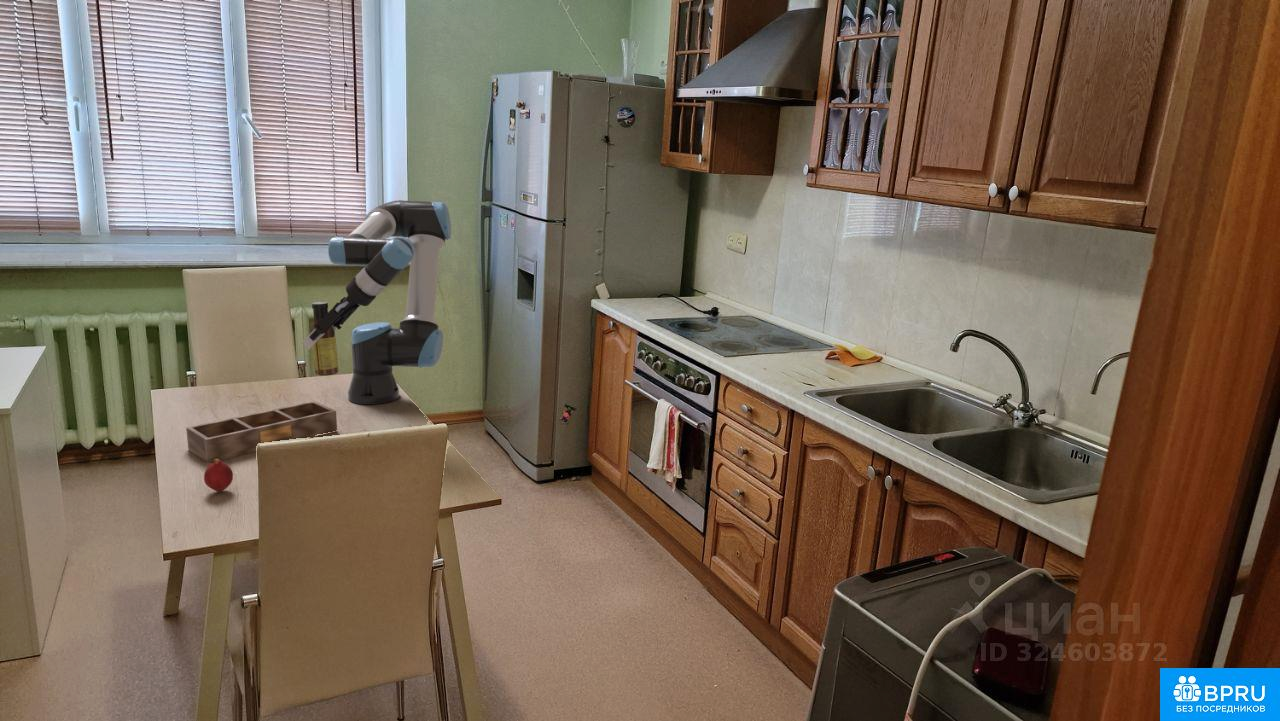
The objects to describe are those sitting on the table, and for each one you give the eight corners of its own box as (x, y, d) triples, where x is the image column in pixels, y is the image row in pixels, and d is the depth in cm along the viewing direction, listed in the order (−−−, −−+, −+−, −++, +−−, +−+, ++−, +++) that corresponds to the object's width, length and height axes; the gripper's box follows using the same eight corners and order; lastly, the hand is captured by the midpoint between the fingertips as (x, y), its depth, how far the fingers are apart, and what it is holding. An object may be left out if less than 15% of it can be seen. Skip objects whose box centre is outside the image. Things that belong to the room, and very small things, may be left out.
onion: (212, 486, 189) (209, 453, 187) (238, 486, 189) (235, 454, 187) (201, 497, 183) (197, 463, 181) (228, 497, 184) (225, 463, 181)
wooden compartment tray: (315, 421, 234) (314, 400, 233) (337, 432, 226) (336, 411, 225) (188, 449, 209) (186, 427, 208) (208, 463, 201) (206, 440, 200)
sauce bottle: (343, 372, 230) (339, 301, 225) (328, 377, 224) (324, 305, 219) (323, 369, 232) (319, 300, 227) (308, 375, 226) (303, 303, 221)
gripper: (361, 302, 212) (304, 361, 217) (389, 291, 231) (336, 345, 236) (339, 281, 211) (283, 340, 217) (370, 272, 230) (317, 326, 235)
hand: (311, 343), depth 226 cm, fingers closed on sauce bottle, 6 cm apart
